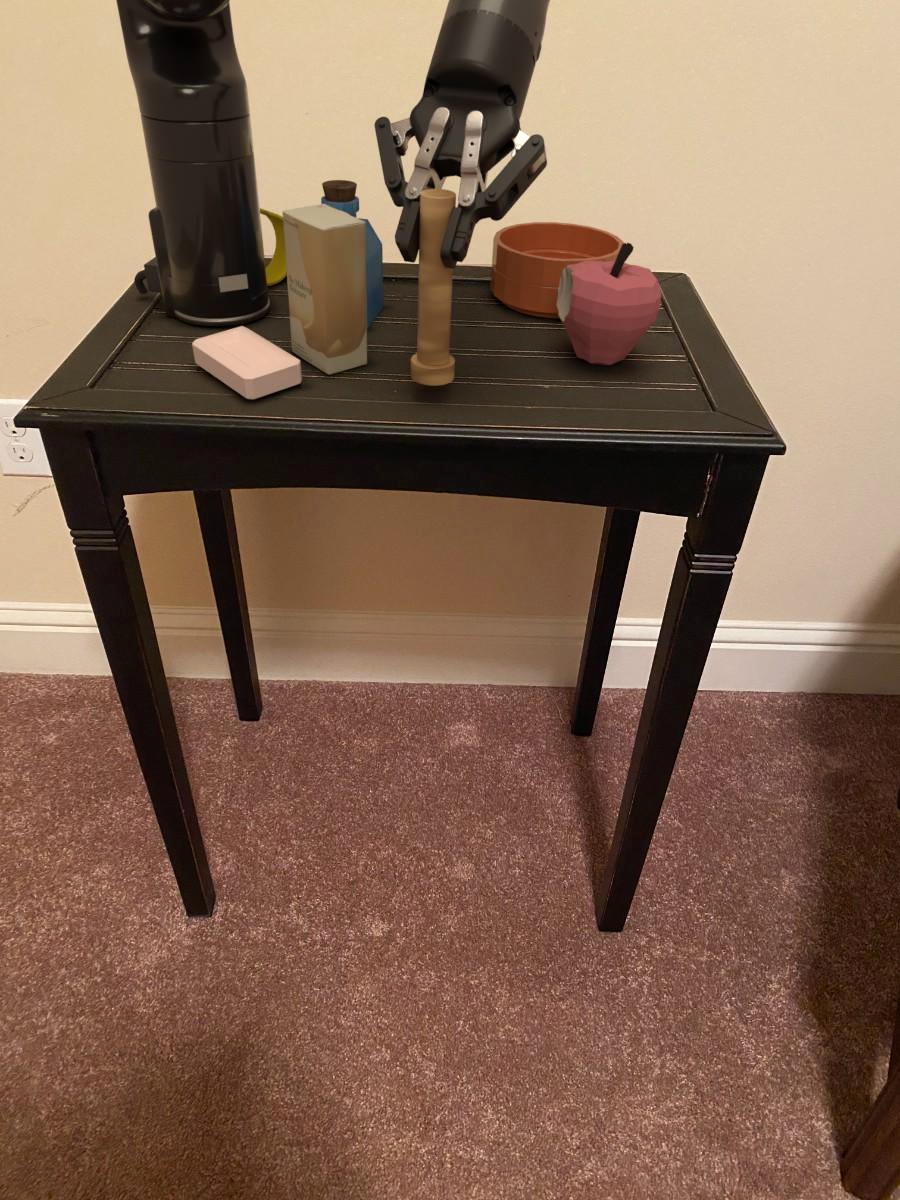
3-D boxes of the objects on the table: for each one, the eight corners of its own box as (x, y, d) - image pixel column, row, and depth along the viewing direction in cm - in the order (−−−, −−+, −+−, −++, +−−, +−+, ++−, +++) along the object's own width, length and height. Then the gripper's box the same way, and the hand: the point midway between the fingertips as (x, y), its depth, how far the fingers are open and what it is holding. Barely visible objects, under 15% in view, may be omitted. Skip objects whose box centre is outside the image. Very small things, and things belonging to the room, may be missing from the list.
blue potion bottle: (366, 329, 82) (362, 195, 74) (305, 322, 83) (295, 189, 75) (383, 307, 87) (381, 179, 79) (324, 301, 88) (317, 173, 80)
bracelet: (269, 286, 94) (287, 293, 92) (207, 268, 88) (225, 276, 86) (285, 218, 92) (304, 224, 90) (223, 194, 86) (242, 200, 84)
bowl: (482, 315, 86) (486, 253, 82) (498, 274, 96) (502, 217, 92) (614, 327, 85) (624, 265, 81) (615, 284, 95) (624, 227, 91)
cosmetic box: (290, 353, 77) (277, 208, 69) (330, 342, 79) (322, 201, 72) (330, 377, 73) (321, 227, 66) (371, 365, 75) (367, 219, 68)
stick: (406, 383, 69) (408, 196, 60) (415, 365, 72) (418, 185, 63) (450, 388, 68) (458, 201, 60) (457, 370, 71) (466, 189, 62)
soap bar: (250, 404, 69) (246, 376, 67) (193, 365, 74) (188, 338, 72) (305, 385, 72) (303, 358, 70) (247, 348, 77) (243, 322, 75)
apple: (548, 338, 82) (560, 228, 76) (638, 341, 82) (657, 232, 76) (556, 380, 74) (570, 262, 68) (655, 384, 74) (678, 266, 68)
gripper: (388, -2, 62) (322, 217, 60) (576, 12, 59) (511, 245, 57) (413, 75, 69) (355, 272, 68) (582, 92, 66) (524, 299, 64)
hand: (427, 258), depth 62 cm, fingers closed on stick, 2 cm apart
